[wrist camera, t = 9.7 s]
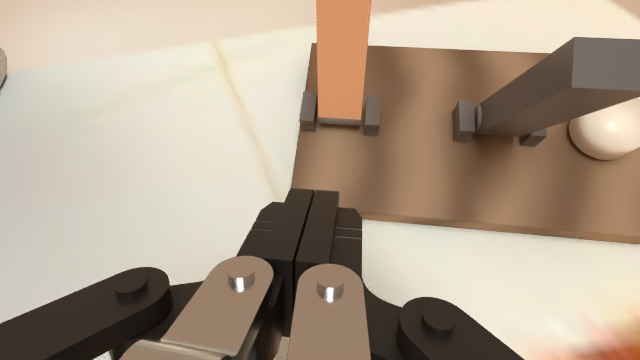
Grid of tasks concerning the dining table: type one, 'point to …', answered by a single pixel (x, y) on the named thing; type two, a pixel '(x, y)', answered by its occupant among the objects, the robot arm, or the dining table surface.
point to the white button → (608, 131)
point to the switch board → (460, 153)
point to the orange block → (341, 59)
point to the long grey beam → (564, 87)
